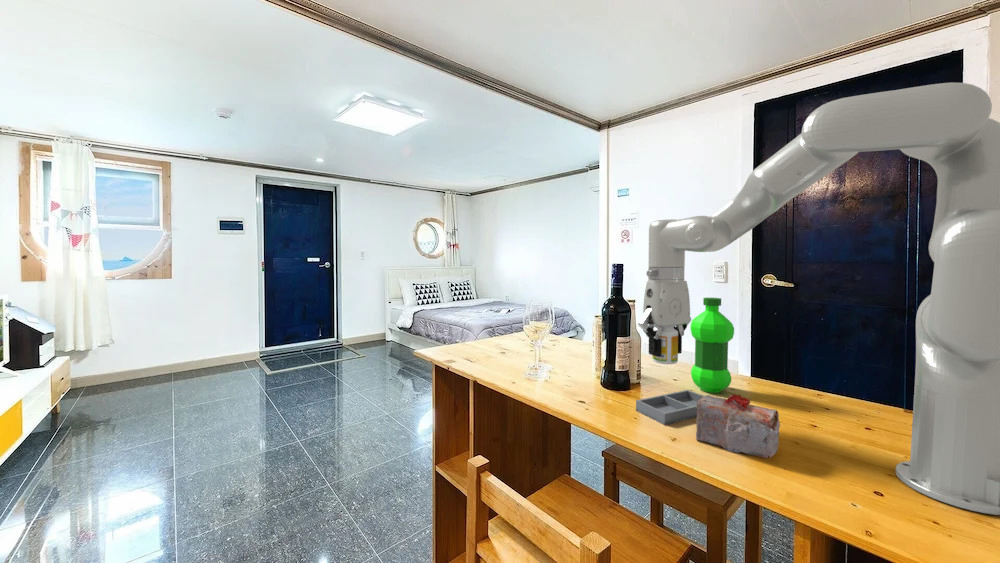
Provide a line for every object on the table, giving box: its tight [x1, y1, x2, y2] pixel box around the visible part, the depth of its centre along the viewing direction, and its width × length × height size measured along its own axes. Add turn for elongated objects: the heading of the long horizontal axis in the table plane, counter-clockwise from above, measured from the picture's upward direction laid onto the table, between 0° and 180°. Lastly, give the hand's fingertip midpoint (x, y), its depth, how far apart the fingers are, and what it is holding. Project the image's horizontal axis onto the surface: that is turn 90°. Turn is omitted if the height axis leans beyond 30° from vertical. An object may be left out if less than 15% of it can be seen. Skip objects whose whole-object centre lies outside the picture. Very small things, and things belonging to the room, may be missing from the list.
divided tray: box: [635, 389, 704, 426], centre depth 91 cm, size 9×17×2 cm, turn 113°
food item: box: [695, 394, 781, 459], centre depth 74 cm, size 14×8×10 cm, turn 50°
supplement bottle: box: [651, 326, 679, 365], centre depth 88 cm, size 5×5×10 cm
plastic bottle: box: [690, 297, 735, 394], centre depth 104 cm, size 10×10×25 cm
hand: (665, 352), depth 88 cm, fingers closed on supplement bottle, 5 cm apart
